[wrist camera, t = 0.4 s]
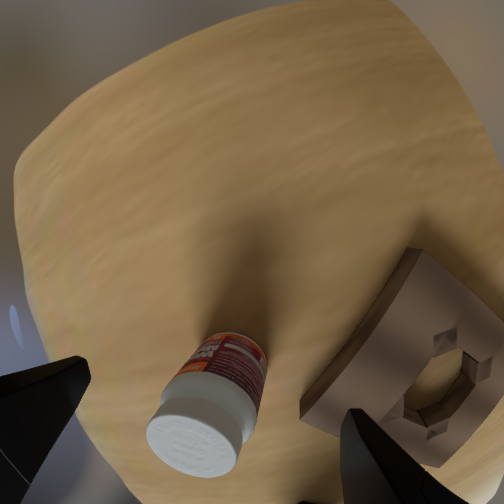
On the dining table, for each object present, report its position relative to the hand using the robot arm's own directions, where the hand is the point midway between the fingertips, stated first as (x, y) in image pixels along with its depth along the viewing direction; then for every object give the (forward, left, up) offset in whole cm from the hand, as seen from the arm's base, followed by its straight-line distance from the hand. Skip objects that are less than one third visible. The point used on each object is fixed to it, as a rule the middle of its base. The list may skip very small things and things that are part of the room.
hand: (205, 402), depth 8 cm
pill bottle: (-6, -1, -15) cm, 16 cm away
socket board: (+2, -18, -14) cm, 23 cm away
